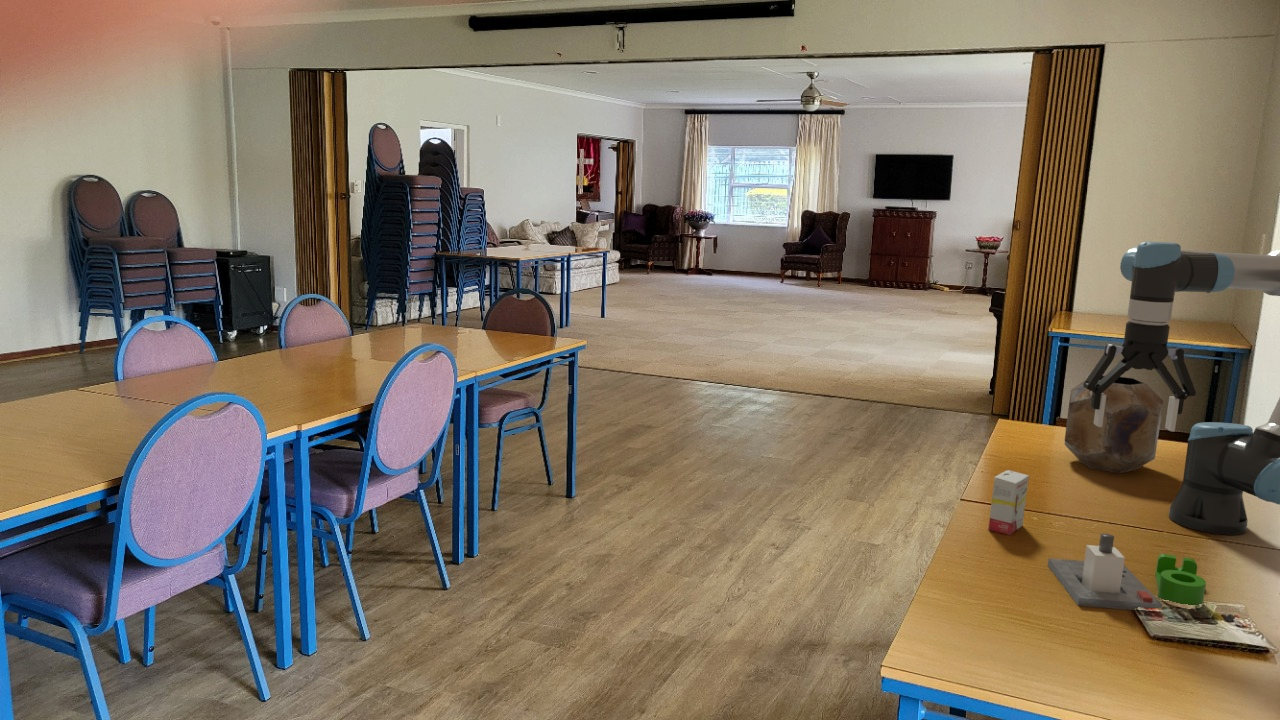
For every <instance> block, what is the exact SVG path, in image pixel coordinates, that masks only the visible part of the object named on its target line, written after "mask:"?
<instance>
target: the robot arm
mask: <svg viewBox="0 0 1280 720" xmlns="http://www.w3.org/2000/svg"><path fill="white" fill-rule="evenodd" d="M1122 255H1123V256H1122V258H1121V260H1120V269H1119V270H1120V273H1121V275H1122V276H1123V277H1124V278H1125V280H1127V281H1130V282H1131V285H1130V286H1131V287H1130V295H1129V299H1128V301H1129V302H1128V308H1127V316H1126V317H1127V319H1129V320H1128V321H1126V323H1125V329H1124V330H1125V331H1124V337H1123V338H1124V339H1123V344H1122V345H1121V346H1120V345H1114V344H1112V343H1107V344H1106V345H1105V348H1104V352H1103V355H1102V356H1101V357H1100V359H1099V360H1098V362H1096V365H1095V366H1094V368H1093V369H1092V370H1091V372H1090V374H1089V375H1088V377H1087V378H1086V379H1085V380H1086V381H1085V380H1084V381H1085V382H1084V384H1083V386H1084V387H1085V388H1086V389H1088V390H1090V391H1092V401H1091V407H1092V408H1093V409H1095V415H1094V424H1095V425H1096V426H1098V427H1102V424H1103V417H1104V409H1105V402H1106V395H1105V394H1104V393H1103V392H1104V391H1105V390H1106V389H1107V388H1108V387H1109V386H1110V385H1111V384H1113V383H1114V382H1115V381H1116V380H1117V379H1118V378H1119V377H1122V376H1123V375H1124V374H1125V373H1126V372H1128V371H1130V370H1131V369H1134V370H1143V369H1145V370H1147V371H1149V370H1150V371H1153V370H1155V371H1156V372H1157V373H1158V375H1159V376H1160V377H1161V379H1162V380H1163V381H1164V383H1165V384H1166V386H1167V387H1168V388H1169V390H1170V392H1172V394H1173V395H1169V397H1168V403H1167V410H1166V418H1165V425H1164V428H1165V429H1166V430H1168V432H1169V431H1170V432H1176V425H1177V419H1178V418H1177V417H1178V415H1182V413H1183V410H1184V403H1185V400H1187V399H1188V398H1189V397H1194V396H1196V395H1197V391H1196V389H1195V386H1194V384H1193V381H1192V378H1191V375H1190V373H1189V371H1188V367H1187V365H1186V363H1185V351H1184V349H1182V348H1180V347H1177V346H1173V347H1172V348H1168V346H1167V345H1168V340H1169V335H1170V328H1171V326H1169V324H1168V323H1170V322H1171V321H1172V316H1173V315H1172V313H1173V307H1174V300H1175V294H1176V293H1178V292H1181V293H1182V292H1185V293H1186V292H1187V293H1188V292H1189V293H1190V292H1191V293H1193V292H1194V293H1206V294H1210V293H1217V292H1218V293H1219V292H1223V291H1225V290H1226V289H1233V290H1247V291H1261V292H1263V293H1264V294H1266V295H1268V296H1275V297H1277V296H1278V297H1280V250H1275V251H1271V252H1269V253H1267V254H1256V253H1239V252H1220V251H1208V250H1207V251H1205V250H1189V249H1186V250H1185V249H1182V246H1181V245H1180V244H1179V243H1177V242H1168V241H1167V242H1165V241H1142V242H1140V243H1139V244H1138V245H1137V246H1134V247H1131V248H1130V249H1128V250H1127V251H1126V252H1125V253H1124V254H1122ZM1119 354H1121V355H1122V358H1121V359H1120V360H1119V361H1118V362H1117V363H1116V365H1115V366H1114V367H1113V368H1112V369H1111V370H1110V371H1108V372H1107V373H1106V374H1105V372H1106V371H1107V370H1108V368H1109V367H1110V365H1111V364H1112V362H1113V360H1114V359H1115V357H1117V356H1119ZM1167 356H1169V359H1171V361H1172V364H1173V366H1174V368H1175V371H1176V372H1175V373H1176V374H1177V377H1178V379H1179V383H1180V384H1181V386H1180V385H1179V383H1178V382H1177V381H1176V379H1175V378H1174V377H1173V375H1172V374H1171V372H1170V371H1169V370H1168V368H1167V366H1166V365H1165V363H1164V362H1163V361H1164V360H1165V359H1166V357H1167ZM1102 375H1105V376H1104V377H1103V378H1102V379H1101V380H1100V378H1101V377H1102ZM1099 380H1100V381H1099ZM1098 381H1099V382H1098ZM1278 398H1279V399H1278V400H1277V402H1276V404H1275V406H1274V409H1273V411H1272V412H1271V414H1270V416H1269V419H1268V421H1267V422H1266V423H1264V424H1261V425H1258V426H1256V427H1255V429H1253V427H1251V426H1249V425H1246V424H1241V423H1231V422H1218V421H1217V422H1215V421H1212V422H1211V421H1209V422H1208V421H1207V422H1205V421H1203V422H1198V423H1195V424H1194V425H1193V426H1192V427H1191V429H1190V434H1189V437H1188V439H1187V449H1186V454H1185V455H1186V457H1185V463H1184V472H1183V479H1182V485H1181V487H1180V488H1179V490H1178V492H1177V493H1176V495H1175V497H1174V499H1173V501H1172V503H1171V504H1170V507H1169V509H1168V510H1169V512H1168V518H1169V519H1170V520H1172V521H1173V522H1174V523H1176V524H1177V525H1180V526H1183V527H1185V528H1189V529H1192V530H1195V531H1199V532H1204V533H1209V534H1216V535H1226V536H1228V535H1229V536H1231V535H1233V536H1234V535H1235V536H1236V535H1241V534H1244V533H1246V531H1247V528H1248V527H1247V526H1248V523H1249V521H1248V515H1247V512H1246V511H1247V510H1246V506H1245V501H1244V497H1243V495H1244V493H1246V494H1249V495H1251V496H1253V497H1257V498H1258V499H1260V500H1262V501H1265V502H1268V503H1273V504H1276V505H1280V397H1278Z"/></svg>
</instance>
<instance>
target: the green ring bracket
mask: <svg viewBox="0 0 1280 720" xmlns="http://www.w3.org/2000/svg"><path fill="white" fill-rule="evenodd" d="M1176 562H1177V556H1176V555H1172V554H1168V553H1167V554H1166V553H1161V554H1159V555H1158V556H1157V560H1156V565H1155V566H1156V568H1155V580H1156V585H1157V589H1158V591H1157V599H1159V598H1161V599H1164V600H1169V601H1172V602H1176V603H1180V604H1188V605H1199V604H1202V603H1203V604H1204V598H1205V592H1206V584H1207V582H1206V580H1205V579H1204V578H1202V577H1201V576H1199V575H1197V572H1198V564H1197V562H1196V560H1195V558H1194V559H1193V558H1190V557H1184V556H1183V558H1182V563H1181V566H1180V567H1177V566H1176V564H1177V563H1176Z"/></svg>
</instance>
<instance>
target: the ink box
mask: <svg viewBox="0 0 1280 720" xmlns="http://www.w3.org/2000/svg"><path fill="white" fill-rule="evenodd" d="M1029 477H1030V475H1029V474H1024V473H1021V472H1017V471H1013V470H1009V469H1006V470H1005V471H1003V472H1001V473H999V474H997V475H996V476H994V479H993V481H994V482H993V489H992V496H991V505H990V511H989V512H990V514H989V519H988V520H989V521H988V528H987V530H988V531H993V532H997V533H1001V534H1005V535H1007V536H1011V535H1012V534H1013V533H1015V532H1017V530H1019V529H1020V528H1021V527H1023V525H1024V517H1025V508H1026V501H1027V499H1026V498H1027V493H1028V485H1029V484H1028V483H1029Z"/></svg>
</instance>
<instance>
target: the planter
mask: <svg viewBox="0 0 1280 720" xmlns="http://www.w3.org/2000/svg"><path fill="white" fill-rule="evenodd" d="M1105 375H1106V374H1103V375H1102V377H1101V378H1100V380H1101V379H1102V378H1103V377H1104V376H1105ZM1100 380H1099V381H1100ZM1085 381H1086V379H1085V380H1084V381H1082V382H1080V383H1079V384H1077V385H1075V386H1074V387H1072V388H1071V390H1070V394H1069V395H1070V396H1069V401H1068V409H1067V410H1068V411H1067V417H1066V426H1065V436H1064V445H1065V447H1066V448H1067V449H1068V450H1069V451H1070V452H1071V453H1072V454H1073V455H1074V456H1075V457H1076V459H1077V460H1078V461H1079V462H1080V463H1082V464H1083V465H1085V466H1086V467H1087V468H1089V469H1091V470H1095V469H1096V471H1101V470H1102V472H1107V471H1109V472H1108V473H1113V472H1114V473H1113V474H1123V473H1124V474H1125V473H1128V472H1134V471H1136V470H1138V469H1140V468H1141V467H1143V466H1145V465H1146V464H1148V463H1150V462H1152V461H1153V460H1155V459H1156V455H1157V454H1156V453H1157V447H1158V440H1159V435H1160V434H1159V433H1160V428H1161V420H1162V414H1163V407H1164V400H1163V399H1162V398H1161V397H1160V395H1158V394H1157V393H1156V392H1155V391H1154V390H1153V389H1152V388H1151V387H1150V385H1148V383H1145V382H1144V381H1141V380H1138V379H1136V378H1134V377H1127V376H1126V377H1125V376H1120V377H1119V378H1118V379H1117V380H1116V381H1115V382H1114V383H1113V384H1111V385H1110V386H1109V387H1108V388H1107V389H1106V390H1105V391H1104V392H1103V393H1104V394H1105V395H1106V402H1105V409H1104V417H1103V424H1102V427H1098V426H1096V425H1095V424H1094V415H1095V409H1093V408H1092V407H1091V401H1092V391H1090V390H1088V389H1086V388H1085V387H1084V386H1083V384H1084V382H1085ZM1099 381H1098V382H1099Z"/></svg>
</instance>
